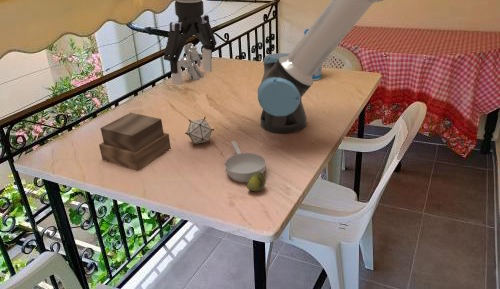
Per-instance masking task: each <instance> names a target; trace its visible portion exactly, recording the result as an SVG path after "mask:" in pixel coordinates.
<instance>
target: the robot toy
mask: <svg viewBox="0 0 500 289" xmlns="http://www.w3.org/2000/svg"><path fill="white" fill-rule="evenodd" d="M197 49H198V48H197V46H195V45H193V43H192V42H190V43H187V44H185V45H184V48H183V50H184V54H185V55H186V56H182V57H181V58H180V59H179V61H181V68H185V69H187V74H188V75H189V77H188V78H187V79H188V80H191V81H192V80H193V81H198V80H200V78H203V77H204V73H203V72H202V71H200V67H201V64H202V61H203V55H202V53H199V52H198V51H197ZM195 62H197V64H195Z"/></svg>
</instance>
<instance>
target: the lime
mask: <svg viewBox="0 0 500 289" xmlns="http://www.w3.org/2000/svg"><path fill="white" fill-rule="evenodd" d="M246 183H247V184H246V189H248V190H249V191H251V192H259V191H261V190H262V189H264V188H265V185H266V177H265V175H264V173H263V174H262V173H261V172H257V173H255V174H254V175H253V176H252V177H251V178H250V180H249V181H248V182H246Z"/></svg>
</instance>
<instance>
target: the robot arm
mask: <svg viewBox="0 0 500 289" xmlns="http://www.w3.org/2000/svg"><path fill="white" fill-rule="evenodd" d="M379 2H384V0H330V2H329V3H328V4H327V6H326V7H325V8H324V9H323V11H322V12H321V13H320V14H319V15H318V17H317V18H316V20H314V22H313V24H311V26H310V27H309V28H308V29H309V30H308V31H307V32H306V34H305V35H304V34H303V36H302V38H301V39H300V40H299V41H298V42H297V43H296V45H295V46H294V48H293V49H292V50H291V51H290V52H289V53H288V52H287V53H286V52H283V53H282V52H280V53H271V54H267V55H265V57H264V58H263V67H264V68H263V75H262V77H261V78H262V79H261V82H260V84H259V86H258V88H257V101H258V103H259V106H260V107H261V108H262V111H261V114H260V119H259V120H260V126H261V128H262V129H264V130H265V131H267V132H268V131H269V132H271V133H276V134H289V133H291V134H292V133H296V132H299V131H301V130H303V129H304V128H305V127H306V126H307V124H308V123H307V118H308V117H307V113H306V111H305V106H304V104H303V102H302V97H303V96H304V95H305V94H306V92H308V90H309V89H310V88H311V86H312V85H313V84H314V82H313V79H312V76H313V74H314V73H315V72H316V71H317V70H318V68H319V67H320V66H321V65H322V66H323V64H324V62H325V61H326V60H327V59H329V57H330V56H331V54H332V53H333V52H334V50H335V49H336V48H337V47H338V46H339V45H340V43H341V42H342V41H343V40H344V39H345V37H346V36H347V35H348V34H349V32H350V31H351V30H352V29H353V28H354V27H355V25H356V24H357V23H358V22H359V21H360V20H361V18H362V17H363V16H364V15H365V14H366V12H367V11H368V10H369V9H370V7H371V6H372V5H373V4H375V3H379ZM174 11H175V16H177V18H178V19H177V22H172V21H171V22H169V33H168V37H167V42H166V46H165V50H164V54H163V60H164V61H168V62H169V67H170V73H171V75H172V76H171V78H172V84H175V85H179V86H181V85H183V78H182V76H183V75H182V66H181V61H180V57H181V54H182V52H183V50H184V47H185V45H186V43H187V41H188V40H189V39H190V38H191V37H193V36H196V37H197V39H198V40H199V42H200V44H201V45H202V46H203V48H201V49H202V53H201V54H202V56H203V59H202V71H204V72H209V73H212V70H213V69H212V68H213V66H212V65H213V64H212V59H213V52H212V51H213V50H215V49H216V46H217V39H216V37H215V34H214V32H213V29H212V26H211V24H210V17H209V16H210V15H208V14H204V13H205V12H204V1H203V0H175V2H174Z"/></svg>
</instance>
